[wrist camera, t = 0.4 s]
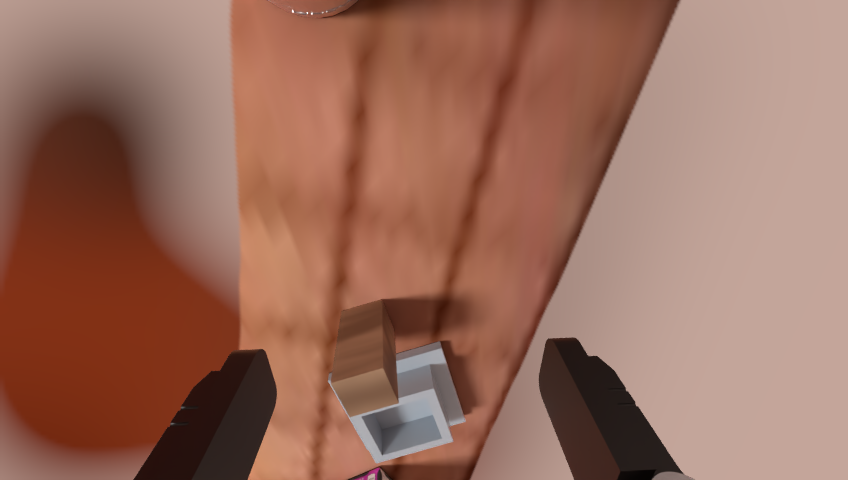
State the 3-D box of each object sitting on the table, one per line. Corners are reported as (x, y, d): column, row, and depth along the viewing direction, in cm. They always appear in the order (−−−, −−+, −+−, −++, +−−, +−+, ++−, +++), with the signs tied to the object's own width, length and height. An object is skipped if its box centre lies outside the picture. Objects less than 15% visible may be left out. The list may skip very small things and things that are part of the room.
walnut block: (341, 311, 33) (330, 383, 25) (381, 299, 33) (382, 368, 25) (356, 341, 35) (349, 417, 27) (394, 330, 35) (398, 403, 27)
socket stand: (329, 373, 36) (323, 406, 32) (439, 341, 36) (446, 371, 32) (367, 441, 41) (366, 476, 38) (463, 413, 41) (471, 446, 38)
